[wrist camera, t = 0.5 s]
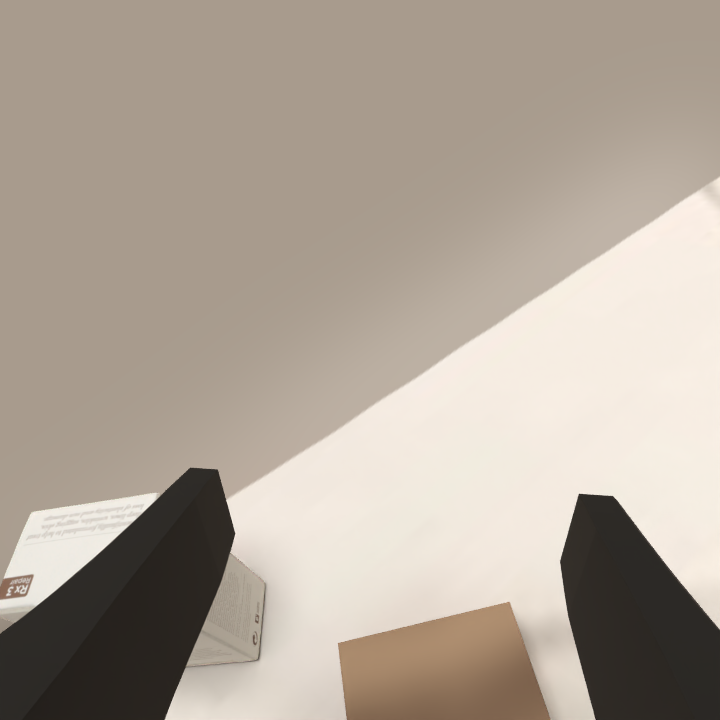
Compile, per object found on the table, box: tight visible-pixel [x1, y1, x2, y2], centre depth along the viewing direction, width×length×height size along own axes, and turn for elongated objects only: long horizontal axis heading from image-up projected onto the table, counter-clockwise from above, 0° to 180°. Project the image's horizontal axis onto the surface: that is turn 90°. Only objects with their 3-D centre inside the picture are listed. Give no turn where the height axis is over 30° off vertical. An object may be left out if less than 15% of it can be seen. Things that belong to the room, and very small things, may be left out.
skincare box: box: [0, 492, 265, 667], centre depth 24 cm, size 6×4×12 cm
